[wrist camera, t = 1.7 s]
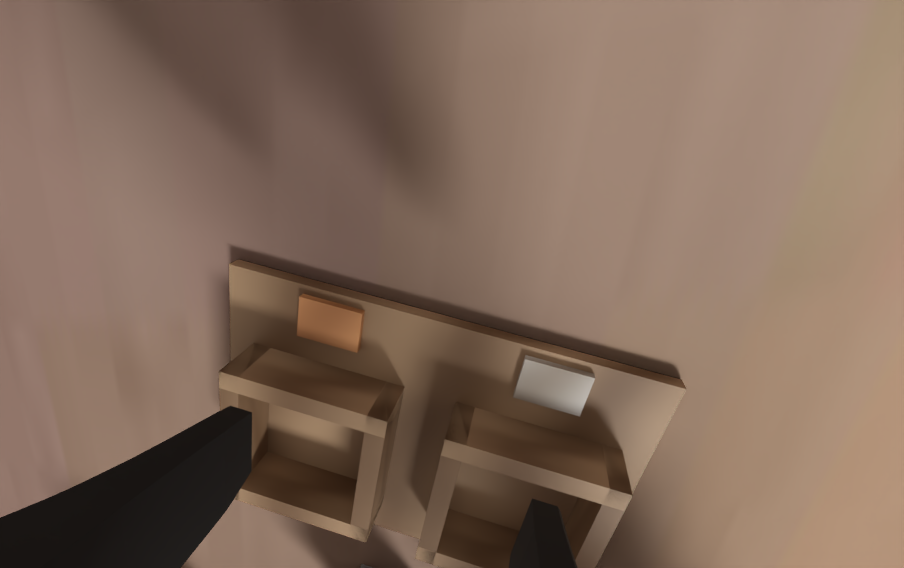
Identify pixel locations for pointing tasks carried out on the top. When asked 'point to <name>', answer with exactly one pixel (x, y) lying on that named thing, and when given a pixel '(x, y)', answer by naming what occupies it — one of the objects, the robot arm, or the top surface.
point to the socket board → (430, 421)
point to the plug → (365, 566)
